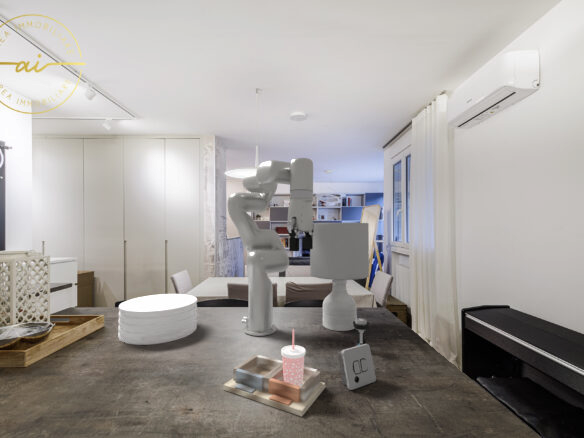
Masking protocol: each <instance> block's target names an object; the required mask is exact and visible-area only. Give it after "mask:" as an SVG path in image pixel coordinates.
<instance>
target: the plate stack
mask: <svg viewBox="0 0 584 438" xmlns="http://www.w3.org/2000/svg"><path fill="white" fill-rule="evenodd" d="M197 303H198V298H197V297H196V296H194V295H191V294H183V293H159V294H151V295H145V296H143V295H142V296H138V297H134V298H131V299H128V300H125V301H123V302H121V303H119V305H118V328H117V331H118V334H117V338H119V339H118V340H119V341H120V342H122V343H124V342H125V344H128V345H138V346H141V345H145V346H146V345H156V344H163V343H169V342H172V341H176V340H180V339H183V338H186V337H188V336H189V335H191V334H193V333H194V332H195V331H196V330H197V328H198V327H197V326H198V324H197V322H198V317H197V316H198V310H197V309H198V304H197Z"/></svg>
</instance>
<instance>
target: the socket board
mask: <svg viewBox="0 0 584 438" xmlns="http://www.w3.org/2000/svg"><path fill="white" fill-rule="evenodd" d="M232 370H233V372H232V373H233V374H232V375H233V377H232V378H231V379H229V380H228V381H227V382H225V383H224V384H222V389H223V391H226V392H229V393H233V394H235V395H238V396H240V397H241V396H242V397H243V398H247V399H249V400H252V401H256V402H258V403H260V404H261V403H262V404H263V405H267V406H269V407H273V408H276V409H279V410H282V411H284V412H287V413H290V414H293V415H295V416H299V417H303V416H304V415H305V414H306V412H307V411H308V410H309V409H310V407H311V406H312V405H313V403H314V402H315V401H316V400H317V398H318V397H319V396H320V395H321V394H322V393H323V391H324V390H325V389H326V383H325V382H322V381H321V379H322V373H321V371H318V369H316V368H313V367H309V366H305V365H304V371H303V385H302V386H297V385H294V384H290V383H287V382H284V377H283V360H282V359H281V360H280V359H277V358H272V357H268V356H264V355H260V354H259V355H256V354H254V355H252V356H251V357H249V358H247V359H246V360H244V361H242V362H241V363H239V364H238V365H236V366H235V367H233V369H232Z"/></svg>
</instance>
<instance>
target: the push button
mask: <svg viewBox="0 0 584 438" xmlns="http://www.w3.org/2000/svg"><path fill="white" fill-rule="evenodd" d="M353 324H354V328H355V330H357V338H356V340H355V341H356V346H359V345H363V344H367V339H366V338H365V331H367V330H368V329H369V328H370V322H369V321H367V319H366V318H362V317H359V318H358V317H357V319H356V321H353Z"/></svg>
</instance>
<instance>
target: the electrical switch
mask: <svg viewBox="0 0 584 438" xmlns="http://www.w3.org/2000/svg"><path fill="white" fill-rule="evenodd" d="M336 352H337V359H338V365H339V371H340V377H341V382H342V385H344V386H346V387H347V389H348V390H349V391H354V390H356V389H359V388H361V387H364V386H366V385H369V384H371V383H375V382H376V381H377V377H376V376H377V375H376V373H375V366H374V361H373V355H372V352H371V346H370V344H368V343H365V344H363V345H358V346H357V345H355V346H353V347H349V348H345V349H342V350H341V351H336Z"/></svg>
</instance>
